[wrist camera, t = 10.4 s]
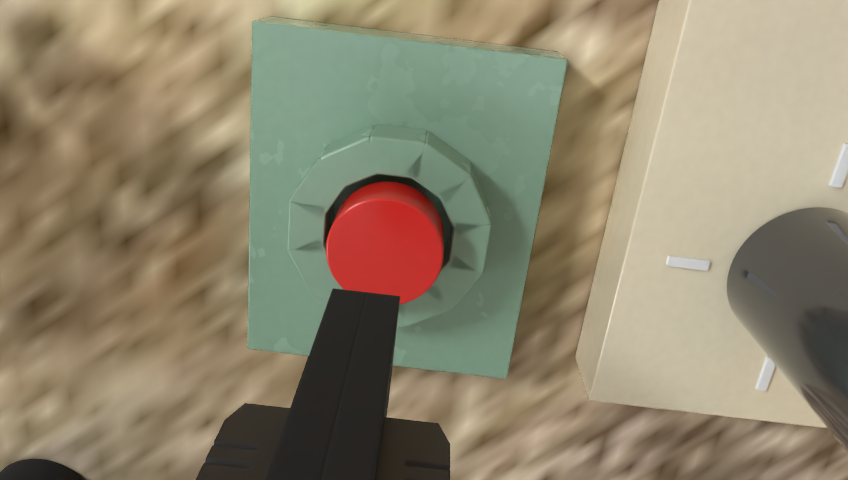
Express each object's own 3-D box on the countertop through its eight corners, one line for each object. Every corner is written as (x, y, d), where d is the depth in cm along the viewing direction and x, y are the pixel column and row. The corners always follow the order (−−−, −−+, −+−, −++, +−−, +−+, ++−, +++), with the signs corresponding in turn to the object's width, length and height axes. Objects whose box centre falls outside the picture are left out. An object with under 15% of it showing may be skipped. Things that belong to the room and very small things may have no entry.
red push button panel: (502, 349, 27) (511, 408, 24) (261, 321, 27) (232, 376, 24) (557, 51, 23) (578, 67, 19) (269, 15, 23) (234, 25, 19)
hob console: (859, 390, 28) (908, 440, 25) (574, 357, 28) (589, 403, 25) (1038, -19, 22) (1131, -17, 19) (673, -65, 21) (709, -70, 19)
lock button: (436, 288, 23) (436, 313, 21) (331, 276, 22) (322, 299, 21) (450, 187, 21) (450, 205, 20) (338, 174, 21) (329, 191, 19)
